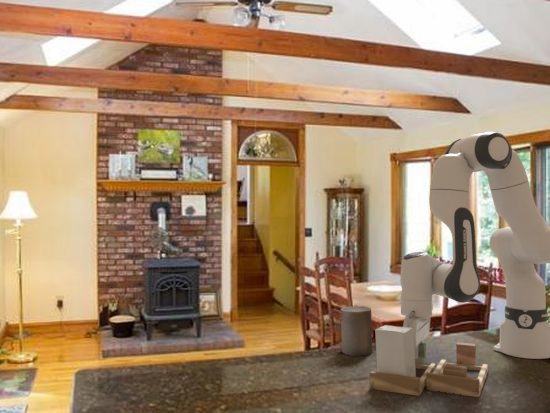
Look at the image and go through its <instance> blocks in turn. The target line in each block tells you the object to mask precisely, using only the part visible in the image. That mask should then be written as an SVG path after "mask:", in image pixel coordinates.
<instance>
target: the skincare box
mask: <svg viewBox="0 0 550 413" xmlns="http://www.w3.org/2000/svg"><path fill="white" fill-rule="evenodd" d="M374 331H375V332H374V333H375V351H376V367H377V368H376V370H377V371H376V372H380V373H388V374H395V375H403V376H411V377H417V374H416V373H417V371H416V368H415V353H414V336H413V328H408V327H403V326H396V325H395V326H394V325H387V324H384V325H383V326H380V327H378V328H376V329H375V330H374Z"/></svg>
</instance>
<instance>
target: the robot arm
mask: <svg viewBox="0 0 550 413" xmlns="http://www.w3.org/2000/svg"><path fill="white" fill-rule="evenodd" d="M476 172H484V174H485V175H486V177H487V182H488V185H489V186H488V187H489V190H490V194H491V199H492V200H493V201H492V202H493V205H494V209H495V212H496V213H497V215H498V216H499V217H500V218H501V219H503V221H504V222H506V224H507V225H508V226H505V227H502V228H498V229H496V230H494V231H493V232H492V234H491V235H490V239H489V248H490V251H491V252H492V254H494V256H495V257H496V258H497V260H498V262H499V264H500V267H501V269H502V273H503V276H504V282H505V293H506V294H505V298H506V299H505V300H506V302H505V303H506V305H505V306H504V317H505V319H504V320H503V321H502V322H501V323H500V324H499V342H498V343H497V344H495V345H494V346H493V351H496V352H500V353H502V354H505V355H508V356H512V357H515V358H516V357H517V358H523V359H531V360H534V359H536V360H543V359H549V358H550V324H549V323H548V320H549V318H548V316H549V312H548V308H547V305H546V304H547V302H546V301H547V299H546V298H547V295H546V282H545V281H544V279H543V278H542V277H541V276H540V274H538V272H537V270H536V268H535V265H544V264H550V225H549V224H548V223H547V221H546V220H545V218H544V217H543V215H542V214H541V212H540V210H539V209H538V207H537V205H536V202H535V199H534V195H533V192H532V189H531V185H530V181H529V177H528V175H527V171H526V170H525V166H524V164H523V162H522V160H521V158H520V155H519V154H518V152H517V151H515V150H514V149H512V147H511V144H510V142H509V140H508V139H507V137H506V136H505V135H503V134H502V133H499V132H497V131H486V132H484V133H481V132H480V133H476V134H471V135H469V136H466V137H463V138H459V139H456V140H455V141H452V142H451V143H450V145H448V147H447V149H446V150H445V153H444V154H443V155H441V156H439V157H438V158H437V159H436V160H435V163H434V166H433V170H432V174H431V180H430V186H429V197H428V199H429V200H428V201H429V202H428V203H429V210H430V211H431V213H432V215H433V216H434V217H435V218H436V219H437V220H439V221H440V222H442V223H443V224H444V225H445V226H446V227H447V228H448V229H449V231H450V233H451V234H450V235H451V239H452V264H450V263H447V262H444V261H441V260H439V259H437V258H435V257H433V256H431V255H430V254H429V252H426V251H418V252H417V251H416V252H410V253H407V254H406V255H403V258H402V260H401V265H400V277H399V279H400V281H399V282H400V286H401V294H400V315H402V316H404V318H405V319H404V320H403V326H402V327H408V328H413V336H414V353H415V359H418V357H419V352H418V347H419V344H420V343H424V340H425V338H426V337H427V336H428V335H429V333H430V328H431V316H433V311H434V310H433V309H434V308H433V306H434V305H433V295H437V296H441V297H444V298H448V299H451V300H452V301H455V302H457V303H461V304H463V303H467V302H470V301H472V300H473V299H474V298H476V296H477V295H478V293H479V290H480V288H481V278H480V274H479V271H478V265H477V251H476V249H477V248H476V247H477V246H476V229H475V227H476V226H475V220H474V216H473V214H472V212H471V207H470V198H469V197H470V196H469V195H470V180H471V179H470V178H471V177H472V175H473V173H476Z"/></svg>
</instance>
